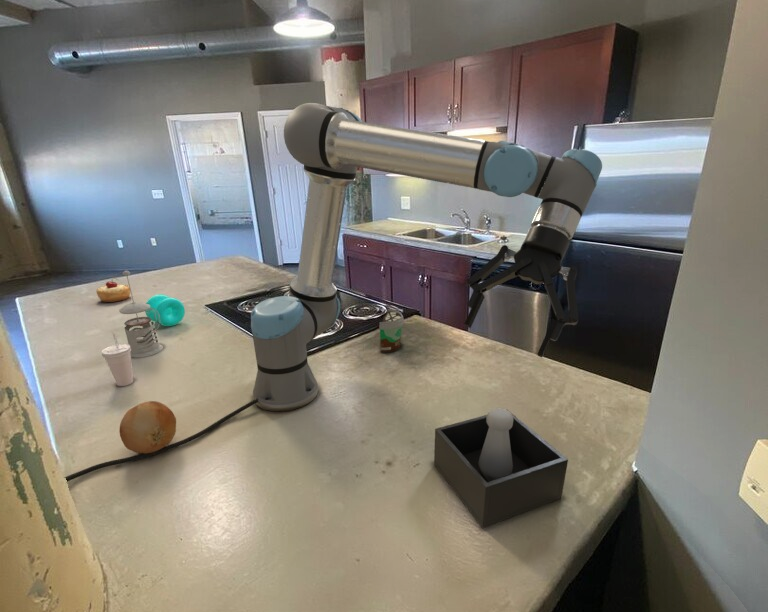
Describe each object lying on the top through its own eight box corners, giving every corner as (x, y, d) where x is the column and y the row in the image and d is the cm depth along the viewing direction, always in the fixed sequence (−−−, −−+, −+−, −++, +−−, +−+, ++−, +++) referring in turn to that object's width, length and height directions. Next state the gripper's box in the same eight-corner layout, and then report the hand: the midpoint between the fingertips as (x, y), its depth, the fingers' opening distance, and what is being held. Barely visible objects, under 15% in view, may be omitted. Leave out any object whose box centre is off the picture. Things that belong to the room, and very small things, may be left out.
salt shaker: (473, 465, 75) (478, 403, 71) (504, 463, 76) (511, 401, 71) (483, 489, 70) (489, 424, 65) (516, 486, 70) (524, 421, 66)
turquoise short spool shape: (173, 316, 155) (168, 290, 151) (188, 321, 149) (183, 295, 146) (146, 324, 147) (140, 298, 144) (161, 330, 142) (154, 303, 138)
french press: (119, 354, 125) (97, 273, 116) (152, 339, 135) (134, 264, 126) (142, 359, 121) (121, 276, 112) (175, 344, 131) (158, 266, 122)
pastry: (92, 303, 172) (86, 282, 168) (113, 294, 182) (108, 274, 179) (117, 304, 170) (112, 283, 166) (138, 295, 181) (133, 275, 177)
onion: (144, 471, 77) (131, 426, 73) (116, 453, 82) (102, 410, 78) (191, 442, 85) (181, 400, 81) (162, 427, 90) (152, 387, 86)
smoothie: (144, 379, 110) (132, 330, 105) (121, 390, 105) (107, 339, 100) (128, 374, 113) (115, 326, 108) (105, 385, 107) (90, 335, 102)
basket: (482, 528, 64) (485, 487, 61) (433, 464, 77) (434, 428, 74) (561, 498, 69) (568, 459, 66) (503, 443, 83) (506, 409, 80)
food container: (400, 356, 120) (400, 324, 117) (379, 354, 121) (379, 322, 118) (406, 339, 132) (407, 309, 128) (387, 337, 133) (387, 308, 129)
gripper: (620, 262, 74) (571, 371, 73) (488, 223, 84) (444, 319, 83) (627, 246, 67) (574, 367, 66) (483, 206, 77) (435, 310, 76)
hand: (502, 340), depth 74 cm, fingers open, 13 cm apart
